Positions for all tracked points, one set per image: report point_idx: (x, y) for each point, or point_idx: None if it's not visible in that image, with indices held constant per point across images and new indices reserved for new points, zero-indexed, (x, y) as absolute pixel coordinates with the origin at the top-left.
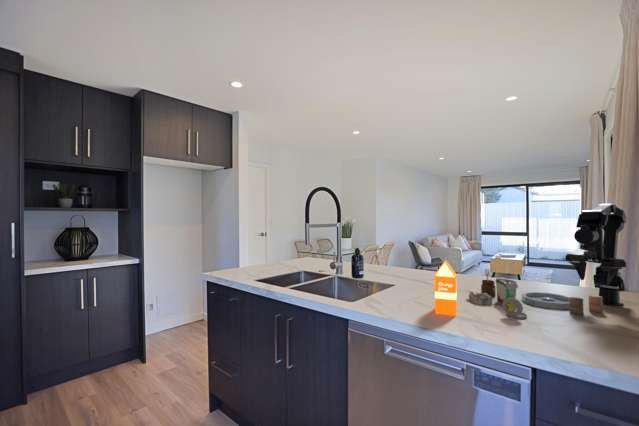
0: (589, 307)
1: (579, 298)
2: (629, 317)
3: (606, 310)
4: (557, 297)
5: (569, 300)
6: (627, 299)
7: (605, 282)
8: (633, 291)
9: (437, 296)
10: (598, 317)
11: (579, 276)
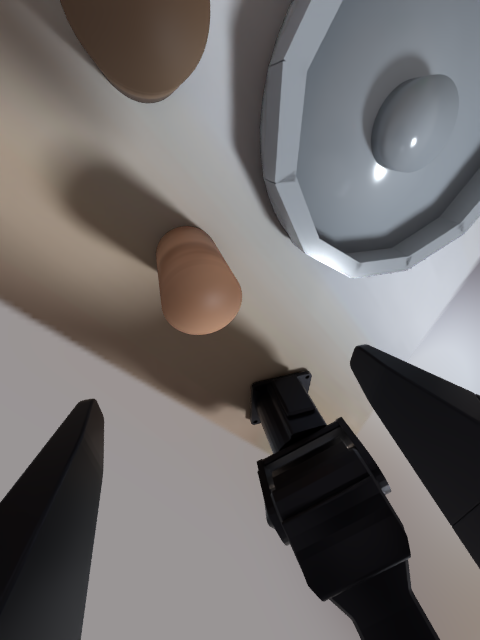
0: (202, 235)
1: (136, 52)
2: (84, 335)
3: None
4: (404, 246)
5: (341, 251)
6: None
7: (72, 423)
8: None
9: None
10: (61, 157)
11: (399, 360)
